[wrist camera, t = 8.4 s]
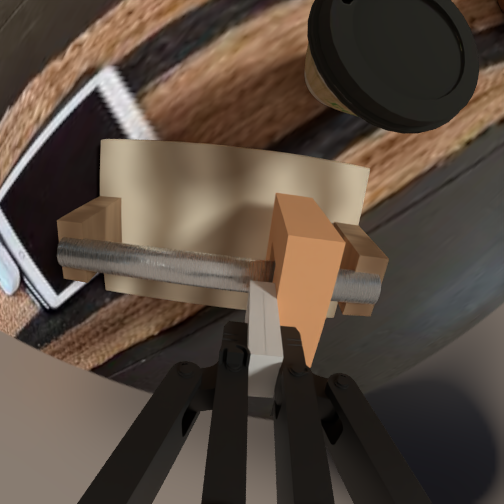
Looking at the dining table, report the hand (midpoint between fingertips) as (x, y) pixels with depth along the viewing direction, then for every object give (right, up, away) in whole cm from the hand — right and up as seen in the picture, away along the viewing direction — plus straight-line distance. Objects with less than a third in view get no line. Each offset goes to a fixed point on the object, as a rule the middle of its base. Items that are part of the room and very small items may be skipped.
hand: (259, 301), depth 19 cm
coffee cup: (+7, +19, +5) cm, 21 cm away
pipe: (-3, +2, +4) cm, 6 cm away
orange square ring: (+2, +3, +8) cm, 8 cm away
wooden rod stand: (-3, +5, +11) cm, 13 cm away
